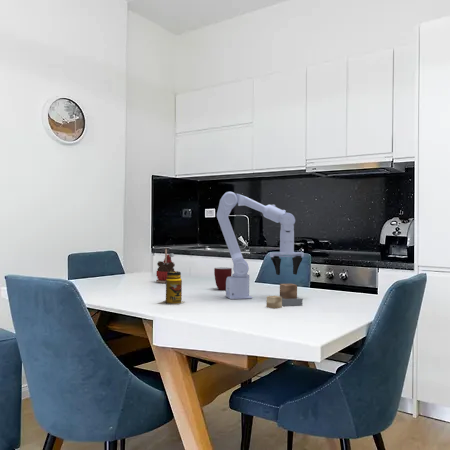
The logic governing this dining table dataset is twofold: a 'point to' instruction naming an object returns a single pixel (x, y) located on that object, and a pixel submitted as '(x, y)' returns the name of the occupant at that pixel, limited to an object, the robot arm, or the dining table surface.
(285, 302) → the slate base
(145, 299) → the dining table surface
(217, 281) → the mug
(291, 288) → the walnut cube
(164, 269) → the cake
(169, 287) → the condiment
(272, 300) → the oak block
